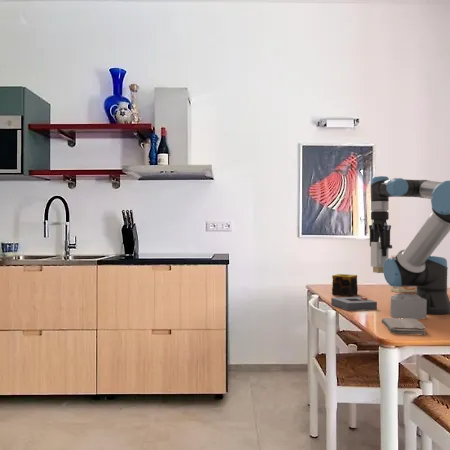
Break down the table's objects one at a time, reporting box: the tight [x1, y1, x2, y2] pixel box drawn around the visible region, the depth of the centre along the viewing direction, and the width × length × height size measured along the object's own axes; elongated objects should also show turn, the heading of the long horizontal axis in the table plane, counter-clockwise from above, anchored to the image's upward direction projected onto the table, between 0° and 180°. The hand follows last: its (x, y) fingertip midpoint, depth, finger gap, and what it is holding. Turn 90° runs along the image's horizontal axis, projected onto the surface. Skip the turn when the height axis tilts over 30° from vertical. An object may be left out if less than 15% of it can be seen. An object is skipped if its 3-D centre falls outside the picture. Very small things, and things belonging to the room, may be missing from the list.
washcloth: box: [381, 317, 427, 335], centre depth 156 cm, size 12×18×3 cm, turn 172°
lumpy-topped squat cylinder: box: [390, 292, 428, 320], centre depth 177 cm, size 10×13×9 cm
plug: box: [370, 241, 393, 274], centre depth 203 cm, size 9×4×14 cm, turn 105°
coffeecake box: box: [390, 254, 417, 294], centre depth 244 cm, size 15×7×20 cm, turn 105°
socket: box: [330, 296, 378, 311], centre depth 197 cm, size 14×14×4 cm
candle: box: [331, 273, 359, 297], centre depth 232 cm, size 10×10×10 cm
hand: (379, 263), depth 203 cm, fingers closed on plug, 4 cm apart
